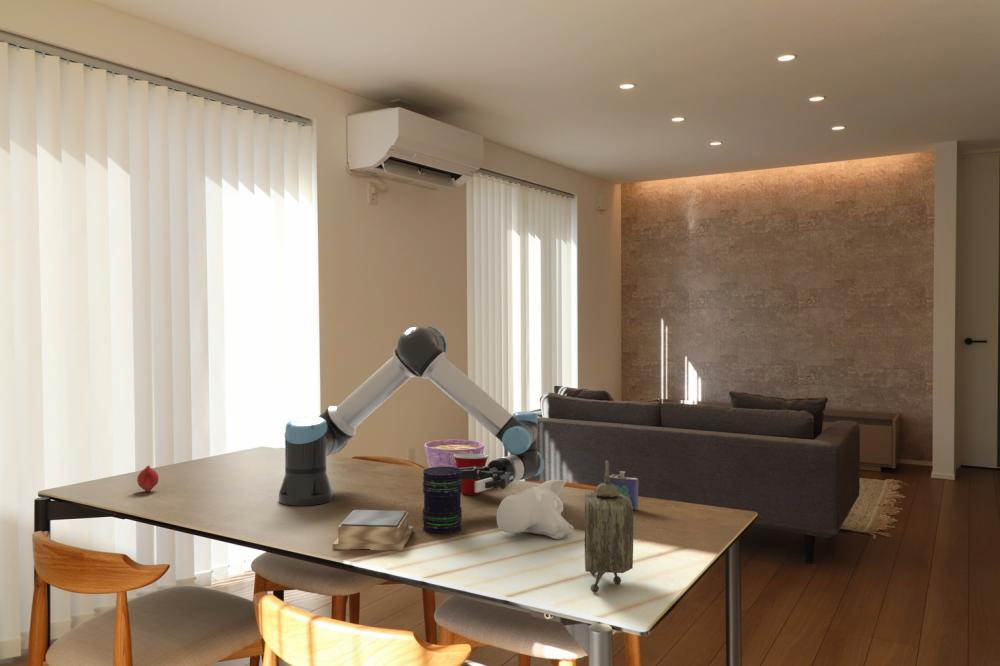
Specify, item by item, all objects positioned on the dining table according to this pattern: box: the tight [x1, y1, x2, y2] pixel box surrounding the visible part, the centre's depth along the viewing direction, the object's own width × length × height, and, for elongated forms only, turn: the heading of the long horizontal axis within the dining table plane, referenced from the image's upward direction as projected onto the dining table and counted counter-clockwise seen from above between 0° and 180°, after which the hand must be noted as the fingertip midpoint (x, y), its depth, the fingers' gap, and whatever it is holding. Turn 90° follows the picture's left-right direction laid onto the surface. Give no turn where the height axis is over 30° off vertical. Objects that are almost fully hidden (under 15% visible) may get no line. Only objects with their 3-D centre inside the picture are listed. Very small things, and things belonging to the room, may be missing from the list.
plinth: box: [332, 509, 414, 551], centre depth 181 cm, size 16×16×5 cm
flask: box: [609, 470, 639, 511], centre depth 213 cm, size 9×3×11 cm, turn 68°
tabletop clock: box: [584, 459, 634, 594], centre depth 152 cm, size 14×9×25 cm, turn 175°
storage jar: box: [422, 467, 463, 536], centre depth 190 cm, size 10×10×15 cm
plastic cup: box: [454, 453, 489, 496], centre depth 230 cm, size 11×11×12 cm
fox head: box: [496, 479, 575, 540], centre depth 187 cm, size 13×17×20 cm
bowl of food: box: [424, 439, 486, 468], centre depth 249 cm, size 20×20×12 cm
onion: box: [136, 464, 159, 492], centre depth 227 cm, size 6×6×8 cm
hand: (455, 483), depth 197 cm, fingers open, 13 cm apart
